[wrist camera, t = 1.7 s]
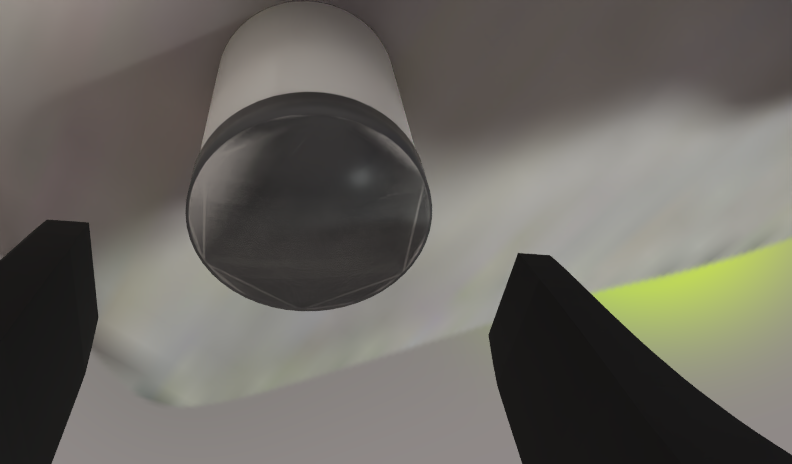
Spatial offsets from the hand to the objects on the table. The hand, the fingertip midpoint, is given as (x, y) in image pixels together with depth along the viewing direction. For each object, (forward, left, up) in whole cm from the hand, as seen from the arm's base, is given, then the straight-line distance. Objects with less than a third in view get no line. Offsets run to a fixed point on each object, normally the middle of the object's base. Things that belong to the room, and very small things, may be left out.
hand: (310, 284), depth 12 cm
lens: (0, 0, -8) cm, 8 cm away
